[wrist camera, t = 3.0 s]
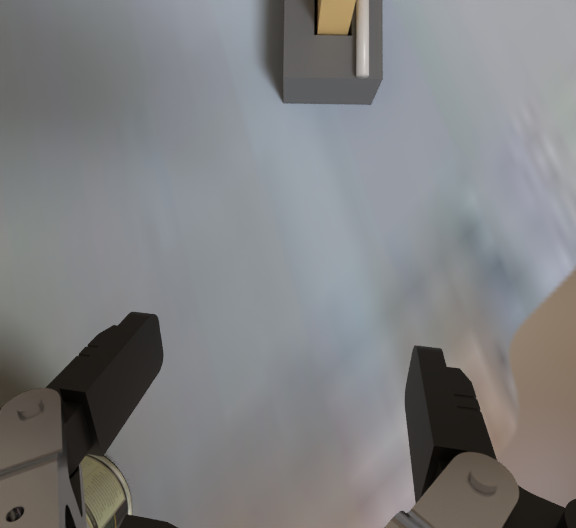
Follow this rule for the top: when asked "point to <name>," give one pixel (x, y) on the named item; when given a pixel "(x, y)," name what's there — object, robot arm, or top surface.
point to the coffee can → (104, 493)
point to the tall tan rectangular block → (333, 16)
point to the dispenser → (332, 56)
